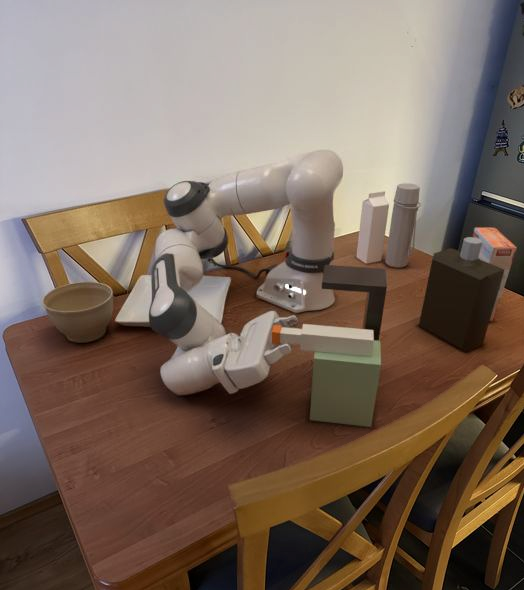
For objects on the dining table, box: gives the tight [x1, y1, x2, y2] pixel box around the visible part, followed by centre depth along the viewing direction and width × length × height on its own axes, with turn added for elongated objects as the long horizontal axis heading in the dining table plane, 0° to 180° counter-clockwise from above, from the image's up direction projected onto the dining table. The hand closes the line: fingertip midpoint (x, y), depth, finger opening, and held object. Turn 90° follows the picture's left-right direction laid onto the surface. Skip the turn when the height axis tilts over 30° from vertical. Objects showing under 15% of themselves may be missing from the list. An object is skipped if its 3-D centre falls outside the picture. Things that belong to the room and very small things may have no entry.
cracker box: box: [471, 226, 517, 322], centre depth 128 cm, size 14×6×21 cm, turn 178°
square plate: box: [114, 274, 232, 328], centre depth 134 cm, size 27×27×4 cm
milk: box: [356, 191, 390, 265], centre depth 156 cm, size 6×6×22 cm
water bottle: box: [384, 182, 422, 269], centre depth 151 cm, size 9×8×25 cm
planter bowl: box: [42, 281, 114, 344], centre depth 121 cm, size 16×16×11 cm
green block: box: [309, 340, 382, 428], centre depth 95 cm, size 12×8×15 cm, turn 80°
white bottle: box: [272, 323, 374, 357], centre depth 91 cm, size 18×4×4 cm, turn 80°
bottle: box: [418, 236, 504, 353], centre depth 116 cm, size 8×16×25 cm, turn 33°
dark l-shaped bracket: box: [322, 264, 388, 341], centre depth 102 cm, size 12×8×25 cm, turn 80°
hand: (293, 332), depth 91 cm, fingers open, 8 cm apart
